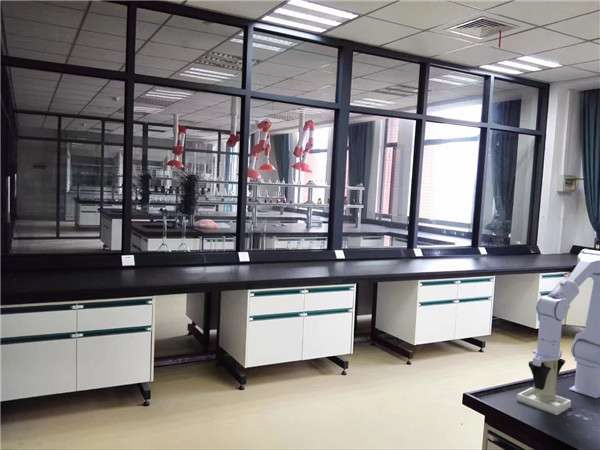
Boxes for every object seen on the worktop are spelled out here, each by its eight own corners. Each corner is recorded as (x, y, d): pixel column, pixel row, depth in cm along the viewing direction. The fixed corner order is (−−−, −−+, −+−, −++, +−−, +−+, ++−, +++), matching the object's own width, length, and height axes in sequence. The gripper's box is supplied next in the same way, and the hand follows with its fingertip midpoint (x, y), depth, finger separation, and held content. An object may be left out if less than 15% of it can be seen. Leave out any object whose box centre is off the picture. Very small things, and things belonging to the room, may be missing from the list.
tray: (531, 393, 149) (531, 387, 149) (570, 407, 140) (571, 400, 140) (516, 400, 143) (517, 394, 143) (557, 415, 134) (557, 408, 134)
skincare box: (555, 403, 138) (558, 361, 137) (539, 402, 139) (542, 359, 138) (548, 394, 145) (551, 353, 144) (532, 392, 145) (535, 352, 144)
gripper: (545, 331, 148) (541, 376, 149) (523, 339, 139) (519, 386, 140) (570, 338, 143) (566, 383, 144) (549, 346, 133) (545, 395, 134)
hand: (545, 385), depth 141 cm, fingers closed on skincare box, 7 cm apart
